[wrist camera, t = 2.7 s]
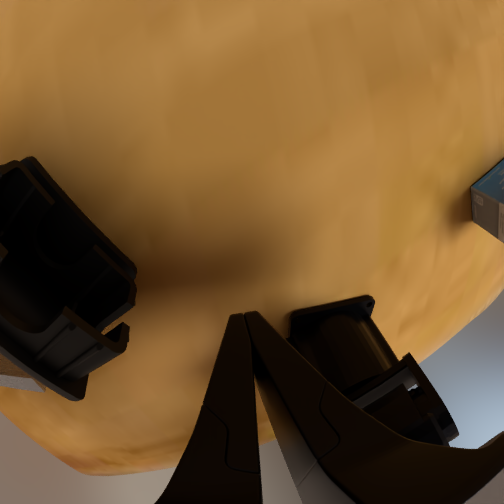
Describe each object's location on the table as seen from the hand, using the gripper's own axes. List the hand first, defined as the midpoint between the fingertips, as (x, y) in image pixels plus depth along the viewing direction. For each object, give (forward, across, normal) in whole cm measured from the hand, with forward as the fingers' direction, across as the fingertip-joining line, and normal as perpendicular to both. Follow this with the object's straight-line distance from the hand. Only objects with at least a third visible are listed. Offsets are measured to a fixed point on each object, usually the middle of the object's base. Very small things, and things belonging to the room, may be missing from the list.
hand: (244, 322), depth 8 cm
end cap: (+7, +10, 0) cm, 12 cm away
